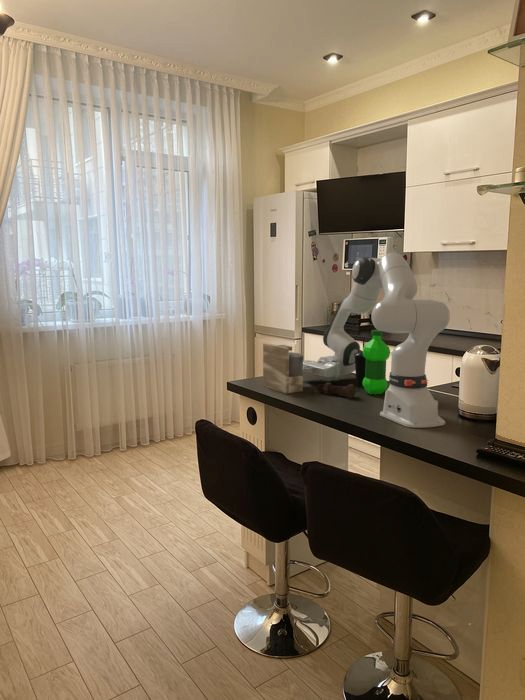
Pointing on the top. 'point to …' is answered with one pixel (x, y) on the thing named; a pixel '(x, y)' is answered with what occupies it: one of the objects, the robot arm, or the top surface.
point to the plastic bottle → (375, 364)
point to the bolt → (337, 389)
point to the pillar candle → (295, 364)
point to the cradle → (279, 369)
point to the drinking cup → (360, 367)
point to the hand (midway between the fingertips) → (300, 370)
